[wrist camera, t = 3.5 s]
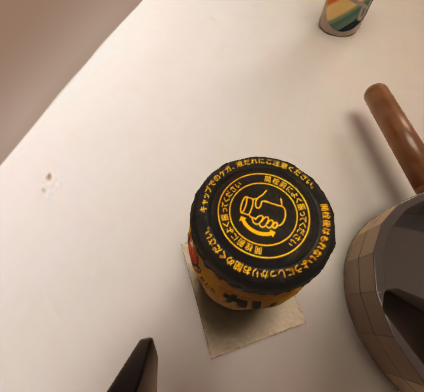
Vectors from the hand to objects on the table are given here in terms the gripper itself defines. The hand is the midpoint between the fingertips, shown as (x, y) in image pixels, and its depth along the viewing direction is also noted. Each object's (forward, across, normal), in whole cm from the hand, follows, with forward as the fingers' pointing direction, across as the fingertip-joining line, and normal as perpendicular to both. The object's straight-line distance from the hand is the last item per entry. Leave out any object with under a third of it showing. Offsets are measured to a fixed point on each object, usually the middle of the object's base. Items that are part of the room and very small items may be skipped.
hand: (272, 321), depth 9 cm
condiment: (+9, 0, +5) cm, 10 cm away
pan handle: (+13, -16, -3) cm, 21 cm away
